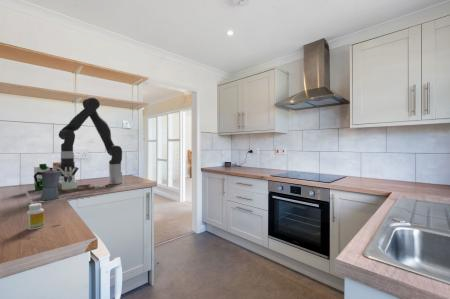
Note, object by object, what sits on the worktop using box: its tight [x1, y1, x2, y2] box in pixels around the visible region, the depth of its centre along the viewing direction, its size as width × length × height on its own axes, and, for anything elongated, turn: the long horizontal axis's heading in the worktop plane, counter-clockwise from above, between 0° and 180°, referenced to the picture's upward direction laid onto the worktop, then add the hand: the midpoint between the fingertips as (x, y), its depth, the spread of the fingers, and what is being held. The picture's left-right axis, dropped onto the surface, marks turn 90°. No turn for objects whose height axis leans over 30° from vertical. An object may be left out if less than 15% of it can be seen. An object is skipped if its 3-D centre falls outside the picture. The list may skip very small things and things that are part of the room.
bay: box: [57, 182, 96, 195], centre depth 158 cm, size 23×13×9 cm, turn 136°
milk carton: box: [33, 163, 51, 191], centre depth 161 cm, size 9×9×20 cm
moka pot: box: [33, 167, 62, 201], centre depth 134 cm, size 10×15×20 cm, turn 161°
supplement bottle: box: [26, 202, 45, 231], centre depth 90 cm, size 5×5×10 cm
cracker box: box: [52, 161, 76, 182], centre depth 168 cm, size 14×6×21 cm, turn 168°
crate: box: [59, 176, 78, 190], centre depth 155 cm, size 9×10×10 cm
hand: (67, 181), depth 155 cm, fingers closed on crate
